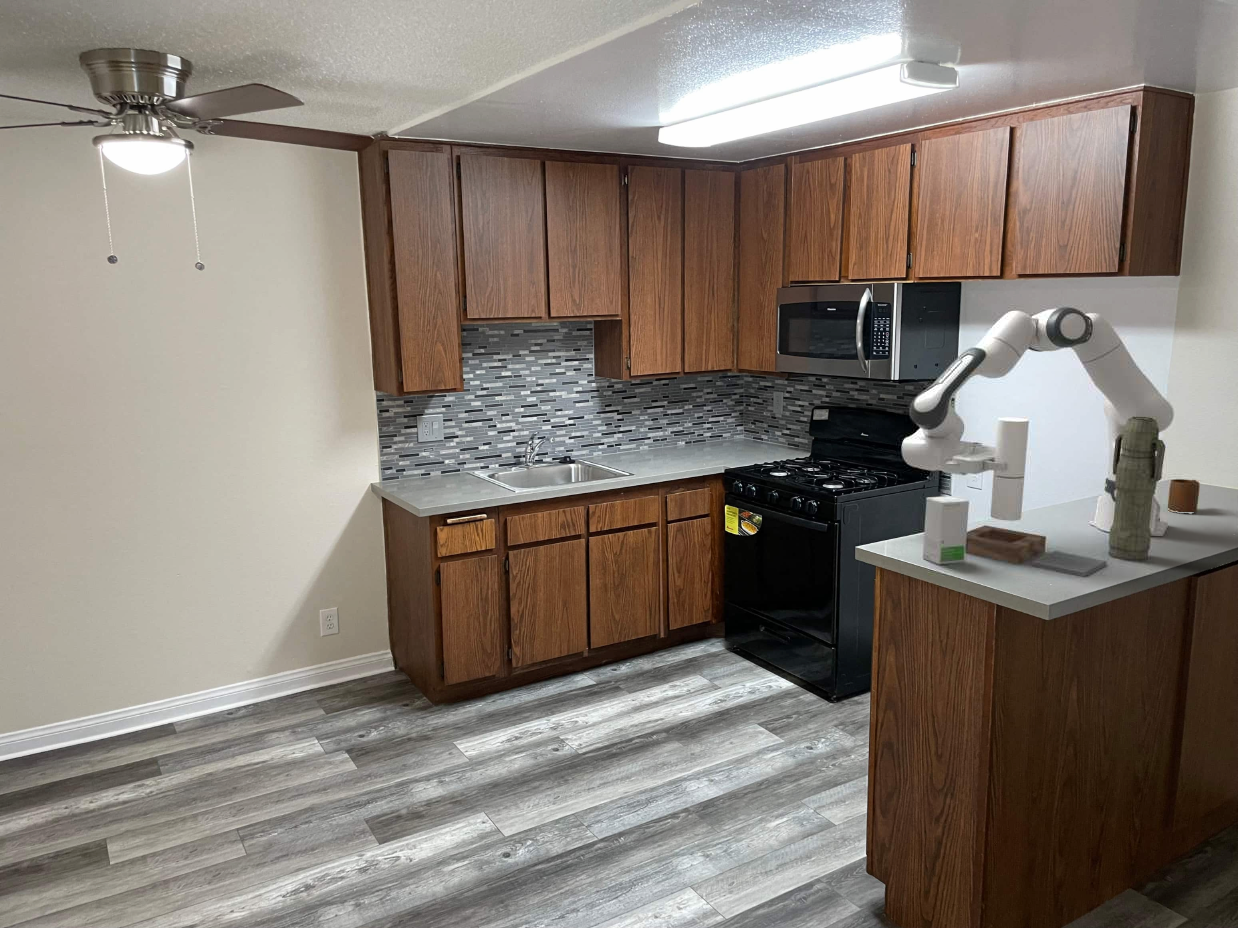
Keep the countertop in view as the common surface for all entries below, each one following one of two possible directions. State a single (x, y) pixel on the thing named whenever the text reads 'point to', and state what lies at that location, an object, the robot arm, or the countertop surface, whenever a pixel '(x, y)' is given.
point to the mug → (1183, 495)
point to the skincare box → (945, 529)
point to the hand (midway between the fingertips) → (1013, 464)
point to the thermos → (1135, 487)
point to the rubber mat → (1069, 563)
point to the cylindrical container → (1009, 468)
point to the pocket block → (1004, 544)
